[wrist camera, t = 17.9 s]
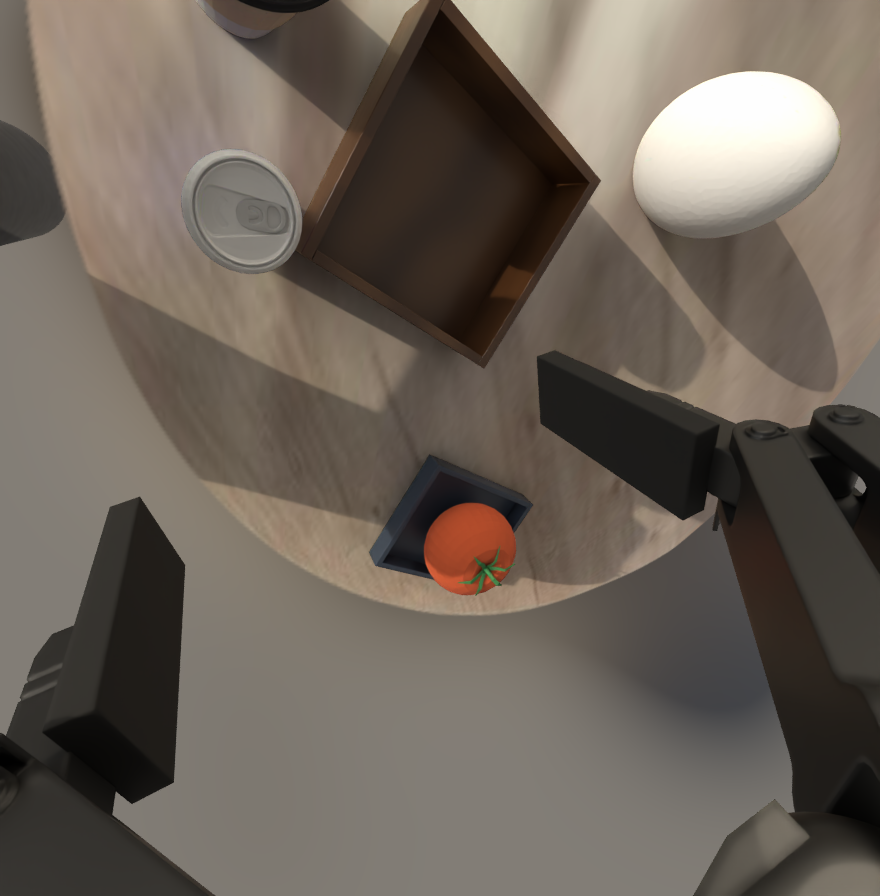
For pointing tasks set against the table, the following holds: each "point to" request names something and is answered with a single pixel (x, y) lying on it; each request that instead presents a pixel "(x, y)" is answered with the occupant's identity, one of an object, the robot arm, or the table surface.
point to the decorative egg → (735, 154)
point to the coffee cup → (254, 14)
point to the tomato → (469, 548)
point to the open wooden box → (446, 187)
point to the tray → (438, 512)
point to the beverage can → (241, 211)
